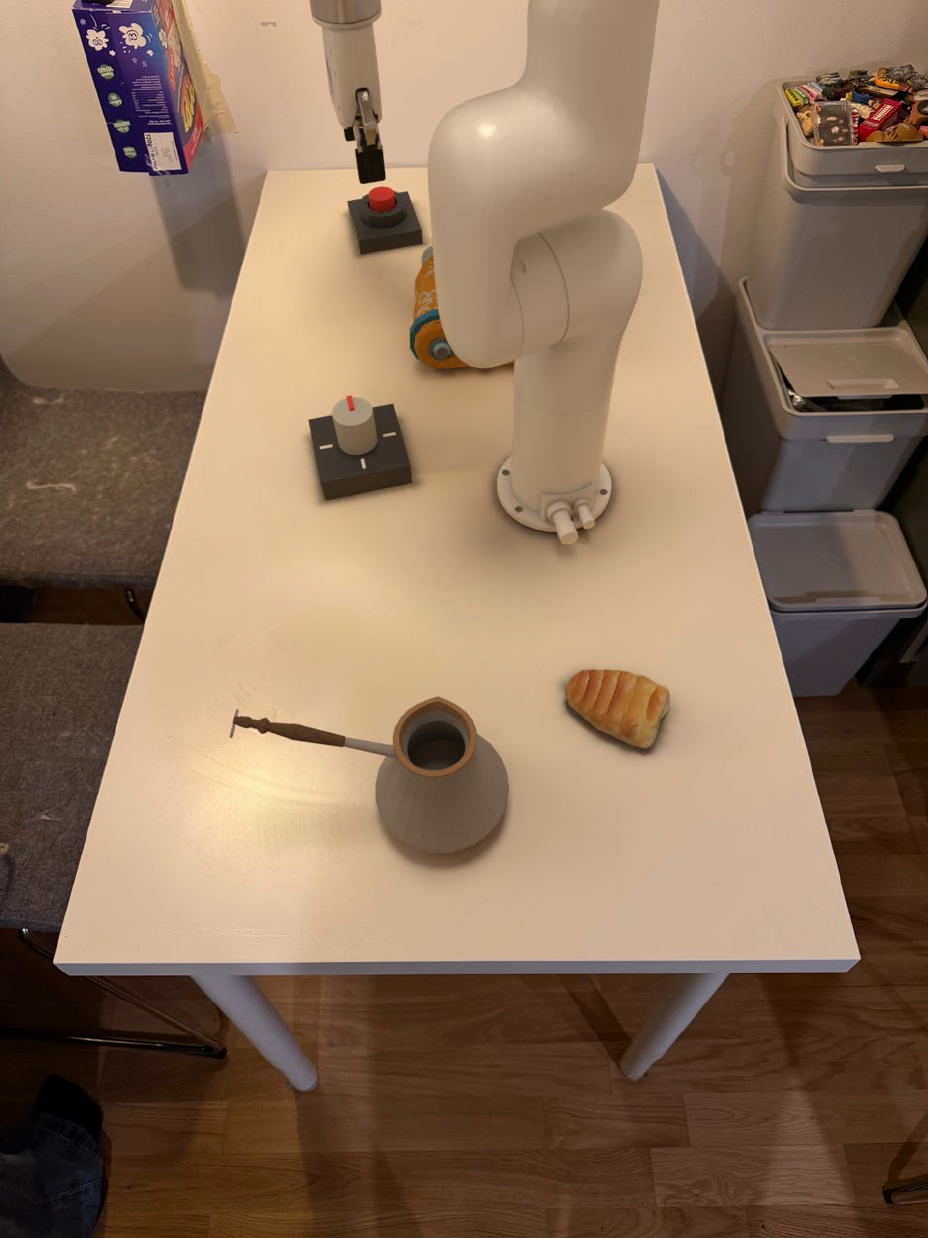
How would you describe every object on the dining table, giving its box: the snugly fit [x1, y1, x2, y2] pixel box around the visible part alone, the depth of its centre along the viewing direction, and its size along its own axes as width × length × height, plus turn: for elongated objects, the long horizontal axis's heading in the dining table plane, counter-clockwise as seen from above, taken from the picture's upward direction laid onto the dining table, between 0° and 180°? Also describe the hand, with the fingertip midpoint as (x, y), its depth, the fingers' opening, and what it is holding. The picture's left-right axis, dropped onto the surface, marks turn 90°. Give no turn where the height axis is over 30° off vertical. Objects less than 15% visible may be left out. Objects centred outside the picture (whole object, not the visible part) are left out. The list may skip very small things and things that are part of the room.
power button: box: [367, 185, 395, 212], centre depth 118 cm, size 4×4×2 cm
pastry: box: [564, 668, 671, 749], centre depth 77 cm, size 9×7×4 cm
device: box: [408, 245, 515, 369], centre depth 106 cm, size 23×8×30 cm
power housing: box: [346, 190, 424, 255], centre depth 120 cm, size 10×9×4 cm
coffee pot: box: [229, 696, 510, 854], centre depth 68 cm, size 21×12×15 cm, turn 87°
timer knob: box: [331, 394, 378, 455], centre depth 92 cm, size 4×4×5 cm
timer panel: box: [307, 403, 413, 501], centre depth 95 cm, size 10×10×3 cm
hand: (365, 159), depth 103 cm, fingers open, 9 cm apart
